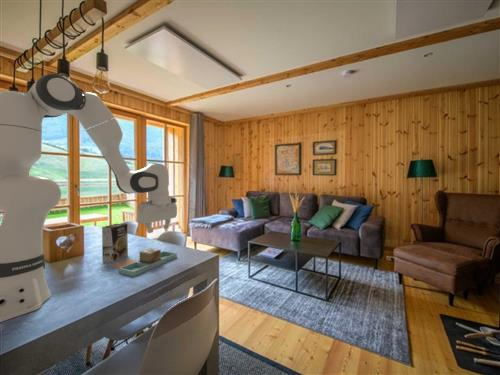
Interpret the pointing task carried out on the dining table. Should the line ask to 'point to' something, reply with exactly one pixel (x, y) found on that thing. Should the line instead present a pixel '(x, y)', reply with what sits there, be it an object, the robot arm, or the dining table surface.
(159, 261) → the tray middle
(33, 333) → the dining table surface
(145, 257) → the letter cube
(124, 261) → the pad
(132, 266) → the tray near
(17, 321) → the dining table surface
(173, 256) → the tray far
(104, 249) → the coffee box
